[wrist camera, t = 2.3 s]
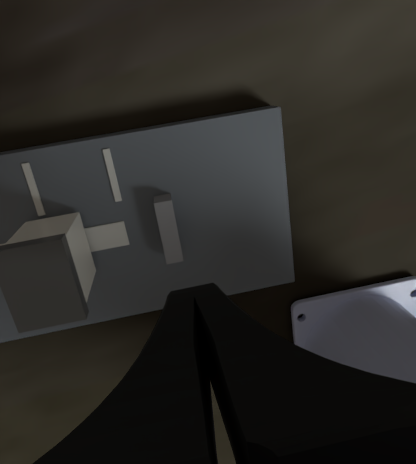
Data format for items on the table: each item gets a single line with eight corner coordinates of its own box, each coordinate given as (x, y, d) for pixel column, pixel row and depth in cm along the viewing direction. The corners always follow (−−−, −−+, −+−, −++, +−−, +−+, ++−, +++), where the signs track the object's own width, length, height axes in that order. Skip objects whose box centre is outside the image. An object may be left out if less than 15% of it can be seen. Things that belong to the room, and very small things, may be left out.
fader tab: (99, 273, 19) (86, 319, 15) (44, 284, 19) (18, 333, 15) (80, 207, 18) (61, 239, 14) (21, 218, 18) (-13, 253, 14)
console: (285, 269, 22) (303, 292, 20) (-117, 351, 21) (-154, 388, 18) (271, 105, 19) (289, 108, 17) (-208, 187, 17) (-268, 204, 15)
